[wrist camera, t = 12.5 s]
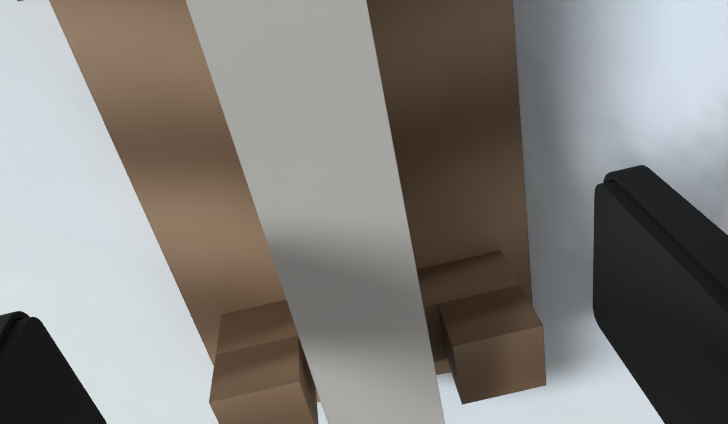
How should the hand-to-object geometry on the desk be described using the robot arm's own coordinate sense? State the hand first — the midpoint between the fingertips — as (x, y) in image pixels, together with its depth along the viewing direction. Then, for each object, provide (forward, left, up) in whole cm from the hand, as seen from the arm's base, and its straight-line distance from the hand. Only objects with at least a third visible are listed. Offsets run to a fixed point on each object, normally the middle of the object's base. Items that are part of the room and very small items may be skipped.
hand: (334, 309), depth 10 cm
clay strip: (+1, 0, -7) cm, 7 cm away
